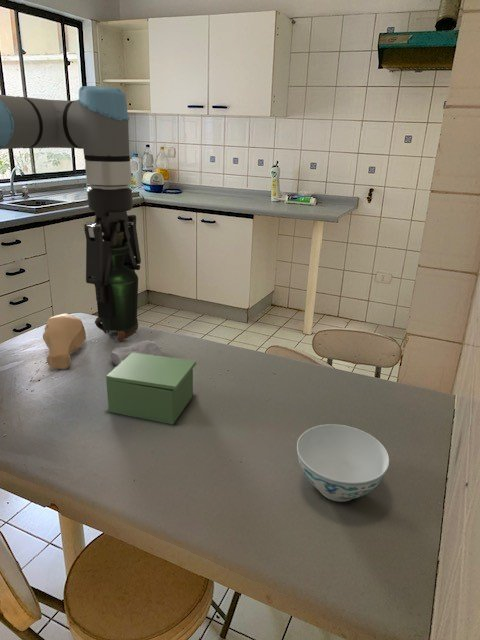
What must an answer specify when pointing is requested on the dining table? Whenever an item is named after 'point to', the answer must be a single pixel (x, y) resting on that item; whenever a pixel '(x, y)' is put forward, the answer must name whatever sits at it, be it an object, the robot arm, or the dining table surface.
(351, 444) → the chinaware
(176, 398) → the chest
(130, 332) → the brown curved loop piece
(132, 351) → the stone block
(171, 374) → the chest lid
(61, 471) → the dining table surface
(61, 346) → the squash
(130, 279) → the potion bottle
